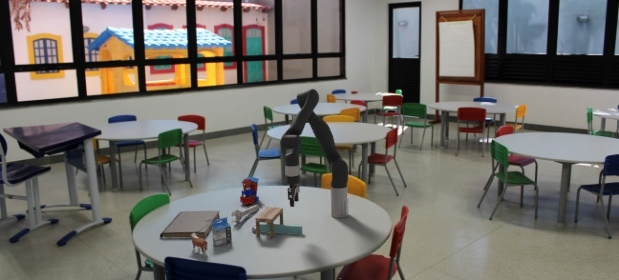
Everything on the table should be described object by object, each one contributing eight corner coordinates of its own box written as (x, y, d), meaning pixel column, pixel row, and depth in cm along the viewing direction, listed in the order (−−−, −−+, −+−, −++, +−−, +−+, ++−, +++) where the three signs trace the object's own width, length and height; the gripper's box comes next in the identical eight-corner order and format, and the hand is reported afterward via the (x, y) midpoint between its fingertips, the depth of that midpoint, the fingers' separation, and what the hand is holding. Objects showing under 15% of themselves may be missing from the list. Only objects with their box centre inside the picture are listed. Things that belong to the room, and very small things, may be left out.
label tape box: (216, 246, 263) (214, 223, 261) (212, 244, 267) (211, 220, 264) (232, 242, 268) (230, 219, 266) (228, 239, 272) (226, 216, 269)
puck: (261, 229, 285) (261, 226, 284) (259, 232, 280) (259, 229, 280) (253, 229, 285) (252, 226, 285) (251, 232, 281) (251, 229, 281)
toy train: (260, 198, 339) (259, 175, 336) (254, 206, 323) (253, 182, 320) (244, 198, 340) (243, 175, 337) (238, 206, 324) (236, 182, 321)
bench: (283, 226, 288) (282, 207, 286) (273, 238, 271) (272, 219, 269) (267, 225, 290) (266, 206, 288) (256, 237, 273) (255, 218, 271)
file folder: (205, 231, 275) (159, 232, 276) (205, 238, 276) (160, 239, 277) (219, 210, 307) (178, 211, 309) (220, 216, 308) (179, 217, 309)
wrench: (258, 214, 318) (234, 225, 290) (256, 213, 319) (231, 225, 291) (258, 200, 317) (234, 211, 289) (256, 200, 318) (231, 210, 290)
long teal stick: (302, 233, 278) (302, 225, 277) (301, 234, 276) (301, 226, 275) (260, 231, 283) (260, 223, 282) (259, 232, 281) (259, 224, 280)
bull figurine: (196, 246, 264) (194, 231, 263) (210, 254, 254) (209, 238, 253) (188, 249, 262) (186, 233, 260) (202, 257, 252) (200, 240, 250)
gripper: (289, 169, 278) (291, 199, 282) (281, 177, 265) (283, 208, 268) (303, 170, 276) (304, 199, 280) (296, 177, 263) (297, 208, 266)
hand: (294, 204), depth 274 cm, fingers open, 8 cm apart
